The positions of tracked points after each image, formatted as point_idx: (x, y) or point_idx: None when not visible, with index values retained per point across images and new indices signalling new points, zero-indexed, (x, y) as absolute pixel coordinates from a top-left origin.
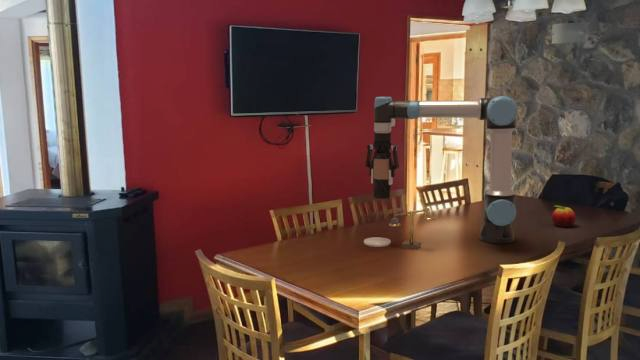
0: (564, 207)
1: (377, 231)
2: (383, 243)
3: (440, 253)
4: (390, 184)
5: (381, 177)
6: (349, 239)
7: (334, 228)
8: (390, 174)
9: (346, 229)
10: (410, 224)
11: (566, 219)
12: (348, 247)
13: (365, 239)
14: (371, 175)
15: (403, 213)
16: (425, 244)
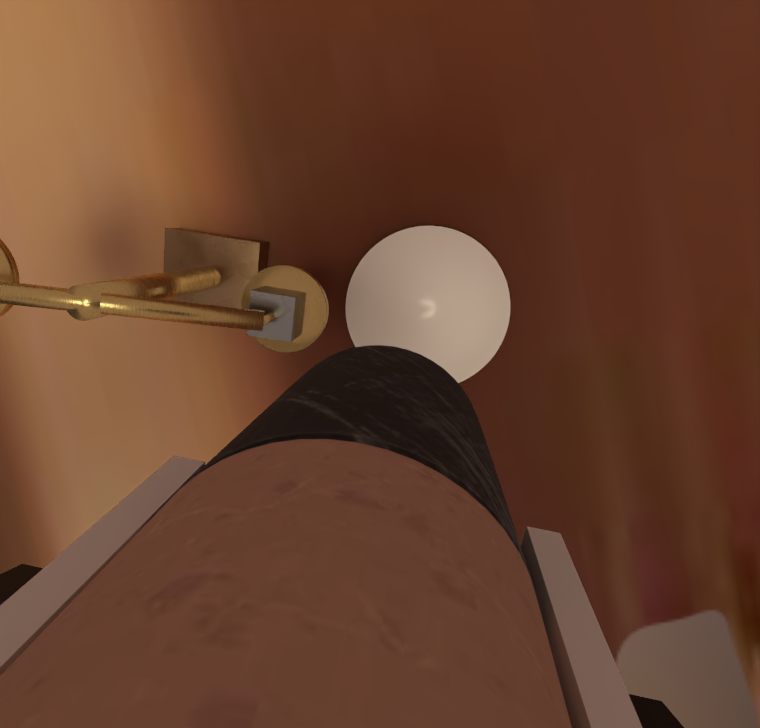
0: None
1: None
2: (375, 257)
3: (46, 193)
4: (169, 465)
5: (277, 464)
6: (612, 354)
7: (749, 575)
8: (13, 597)
9: (669, 566)
10: (152, 277)
11: None
12: (585, 167)
13: (503, 320)
14: (612, 666)
15: (168, 303)
16: (165, 352)
